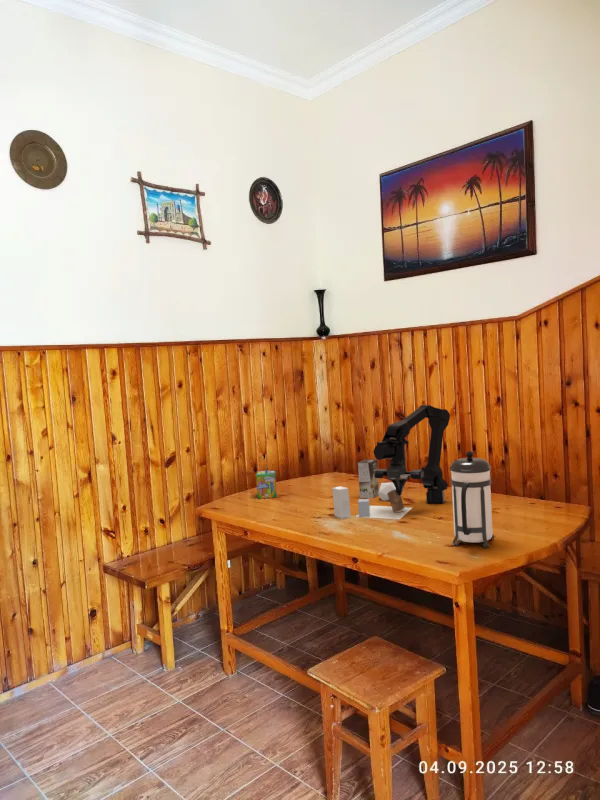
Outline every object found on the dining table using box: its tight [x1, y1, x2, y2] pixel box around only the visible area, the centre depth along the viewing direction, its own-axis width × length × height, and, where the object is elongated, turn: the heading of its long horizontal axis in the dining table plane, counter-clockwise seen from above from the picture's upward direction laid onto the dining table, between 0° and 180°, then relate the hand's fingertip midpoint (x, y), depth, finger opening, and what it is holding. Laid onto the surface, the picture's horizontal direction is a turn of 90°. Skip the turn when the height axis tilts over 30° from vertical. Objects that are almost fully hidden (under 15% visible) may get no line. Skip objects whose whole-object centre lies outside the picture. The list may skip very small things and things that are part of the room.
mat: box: [355, 505, 413, 520], centre depth 239 cm, size 18×18×1 cm
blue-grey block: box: [357, 498, 371, 518], centre depth 236 cm, size 4×4×6 cm
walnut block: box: [387, 489, 405, 513], centre depth 239 cm, size 3×5×8 cm, turn 154°
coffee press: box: [449, 450, 495, 549], centre depth 194 cm, size 17×16×30 cm
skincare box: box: [331, 486, 352, 520], centre depth 236 cm, size 6×4×12 cm
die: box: [377, 481, 396, 502], centre depth 260 cm, size 8×9×10 cm
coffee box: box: [357, 458, 380, 499], centre depth 271 cm, size 9×6×16 cm
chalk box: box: [255, 464, 278, 499], centre depth 284 cm, size 9×9×15 cm
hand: (400, 495), depth 238 cm, fingers closed
